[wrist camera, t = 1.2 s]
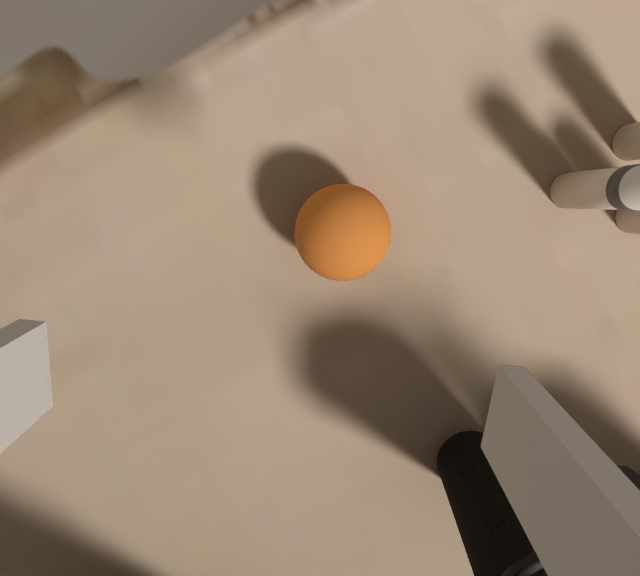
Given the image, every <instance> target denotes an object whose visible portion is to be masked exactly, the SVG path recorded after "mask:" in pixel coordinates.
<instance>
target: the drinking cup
mask: <svg viewBox="0 0 640 576" xmlns="http://www.w3.org/2000/svg"><path fill="white" fill-rule="evenodd" d="M482 438H483V433H480V432H475V431H466V432H461V433H458V434H456V435H454V436H452V437H451V438H449V439H448V440H447V441H446V442H445V443H444V444H443V446H442V447H441V449H440V451H439V454H438V458H437V466H438V470H439V473H440V476H441V479H442V482H443V485H444V488H445V491H446V494H447V497H448V500H449V503H450V506H451V509H452V512H453V514H454V517H455V520H456V523H457V526H458V529H459V532H460V535H461V538H462V541H463V544H464V547H465V550H466V553H467V556H468V558H469V561H470V564H471V567H472V570H473V573H474V576H548V575H547V573H546V571H545V569H544V567H543V566H542V564H541V562H540V560H539V558H538V556H537V554H536V552H535V550H534V548H533V546H532V544H531V543H530V541H529V539H528V537H527V535H526V533H525V531H524V529H523V527H522V525H521V523H520V521H519V519H518V518H517V516H516V514H515V512H514V510H513V508H512V506H511V504H510V502H509V500H508V498H507V496H506V495H505V493H504V491H503V489H502V487H501V485H500V483H499V481H498V479H497V477H496V475H495V473H494V471H493V470H492V468H491V466H490V464H489V462H488V460H487V458H486V456H485V454H484V452H483V450H482V448H481V442H482Z"/></svg>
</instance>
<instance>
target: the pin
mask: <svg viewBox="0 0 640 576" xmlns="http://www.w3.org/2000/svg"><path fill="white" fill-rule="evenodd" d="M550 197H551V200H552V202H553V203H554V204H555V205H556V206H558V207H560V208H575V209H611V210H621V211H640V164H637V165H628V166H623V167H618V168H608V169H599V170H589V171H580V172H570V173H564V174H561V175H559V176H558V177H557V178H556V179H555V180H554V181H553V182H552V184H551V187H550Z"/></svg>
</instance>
